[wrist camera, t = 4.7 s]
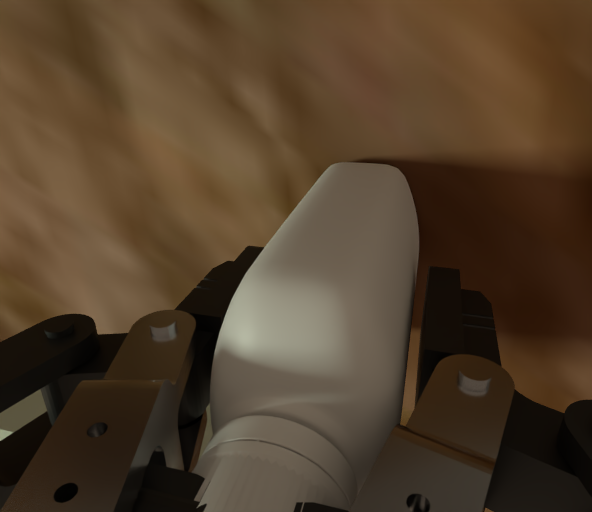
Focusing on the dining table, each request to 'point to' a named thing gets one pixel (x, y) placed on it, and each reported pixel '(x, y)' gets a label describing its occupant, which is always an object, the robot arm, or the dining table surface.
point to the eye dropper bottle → (315, 349)
